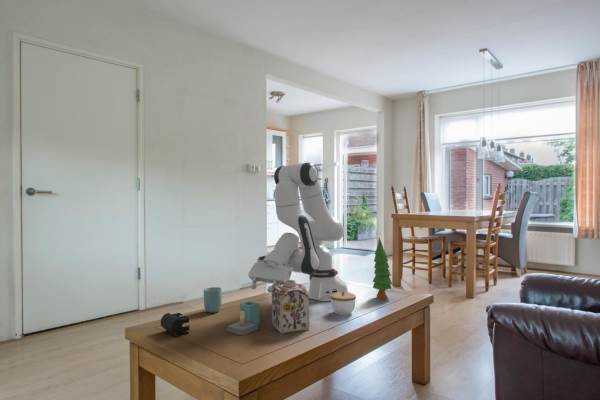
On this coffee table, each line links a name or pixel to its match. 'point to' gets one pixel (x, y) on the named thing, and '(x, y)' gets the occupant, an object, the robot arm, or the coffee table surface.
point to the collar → (250, 311)
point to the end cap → (175, 323)
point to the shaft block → (242, 326)
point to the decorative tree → (381, 272)
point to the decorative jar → (290, 307)
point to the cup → (212, 299)
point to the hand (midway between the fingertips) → (260, 289)
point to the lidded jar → (343, 303)
